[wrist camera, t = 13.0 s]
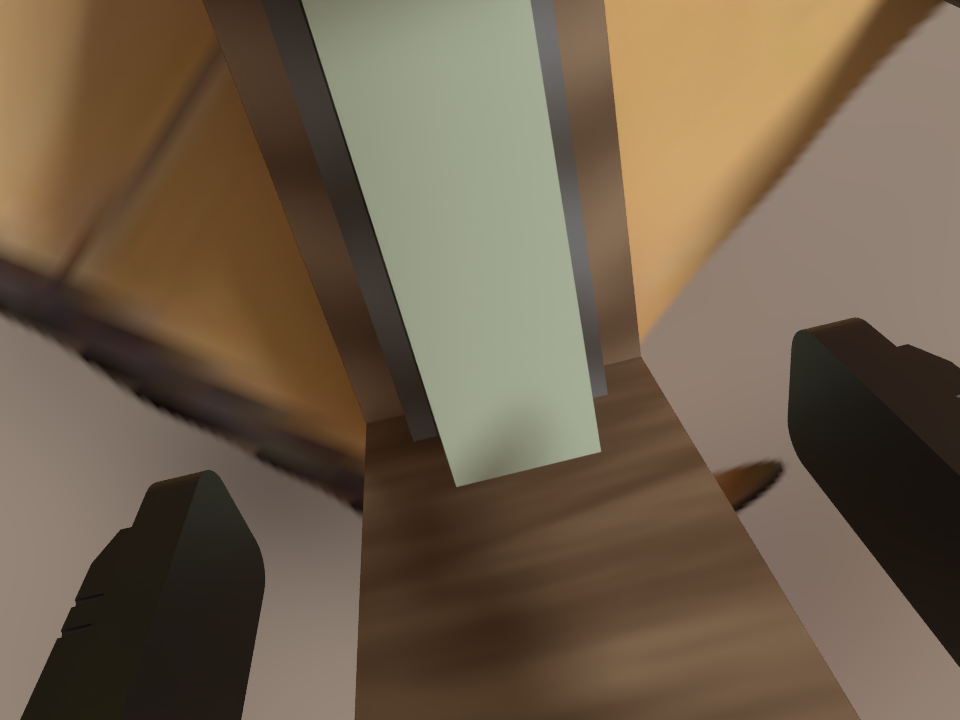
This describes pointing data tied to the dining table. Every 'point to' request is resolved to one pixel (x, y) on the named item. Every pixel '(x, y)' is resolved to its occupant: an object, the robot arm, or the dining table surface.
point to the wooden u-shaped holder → (535, 492)
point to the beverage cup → (954, 2)
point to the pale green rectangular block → (467, 219)
